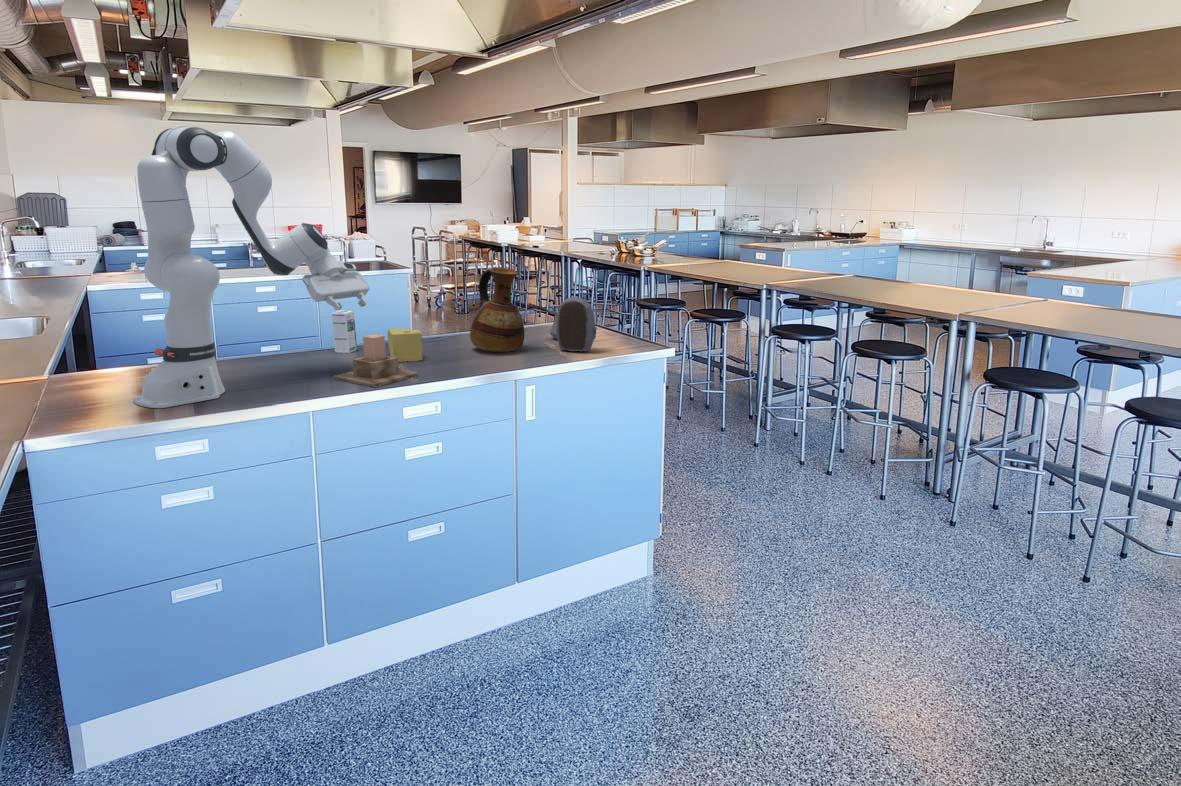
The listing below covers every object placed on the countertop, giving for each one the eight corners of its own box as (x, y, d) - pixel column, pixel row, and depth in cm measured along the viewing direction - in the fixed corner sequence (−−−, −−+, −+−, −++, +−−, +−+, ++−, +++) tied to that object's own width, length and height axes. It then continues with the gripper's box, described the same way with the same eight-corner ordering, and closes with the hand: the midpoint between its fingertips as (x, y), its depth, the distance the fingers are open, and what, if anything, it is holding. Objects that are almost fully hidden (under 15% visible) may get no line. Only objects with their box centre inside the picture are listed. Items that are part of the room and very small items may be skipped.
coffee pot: (571, 335, 300) (572, 298, 296) (583, 340, 290) (583, 302, 286) (522, 338, 292) (521, 301, 288) (532, 344, 282) (532, 305, 278)
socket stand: (374, 387, 217) (373, 367, 215) (333, 379, 226) (331, 359, 224) (418, 375, 231) (417, 357, 230) (378, 368, 240) (377, 350, 239)
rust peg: (375, 376, 225) (373, 338, 222) (365, 374, 228) (362, 336, 224) (386, 373, 229) (384, 335, 226) (376, 371, 231) (374, 334, 228)
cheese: (418, 354, 261) (417, 326, 258) (423, 361, 251) (422, 332, 249) (388, 356, 257) (386, 328, 255) (392, 363, 248) (390, 334, 245)
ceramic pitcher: (502, 358, 257) (501, 271, 250) (458, 351, 268) (456, 268, 260) (535, 348, 274) (535, 267, 266) (493, 342, 284) (491, 263, 276)
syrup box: (349, 353, 261) (346, 312, 257) (334, 352, 262) (330, 312, 258) (357, 350, 266) (354, 310, 263) (342, 349, 268) (339, 309, 264)
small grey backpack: (553, 351, 270) (553, 296, 265) (561, 347, 277) (561, 293, 272) (592, 354, 265) (593, 299, 260) (599, 350, 273) (600, 296, 268)
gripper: (304, 268, 220) (328, 304, 217) (358, 264, 237) (381, 297, 234) (295, 282, 223) (319, 317, 221) (349, 277, 240) (372, 309, 238)
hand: (351, 307), depth 228 cm, fingers open, 8 cm apart
